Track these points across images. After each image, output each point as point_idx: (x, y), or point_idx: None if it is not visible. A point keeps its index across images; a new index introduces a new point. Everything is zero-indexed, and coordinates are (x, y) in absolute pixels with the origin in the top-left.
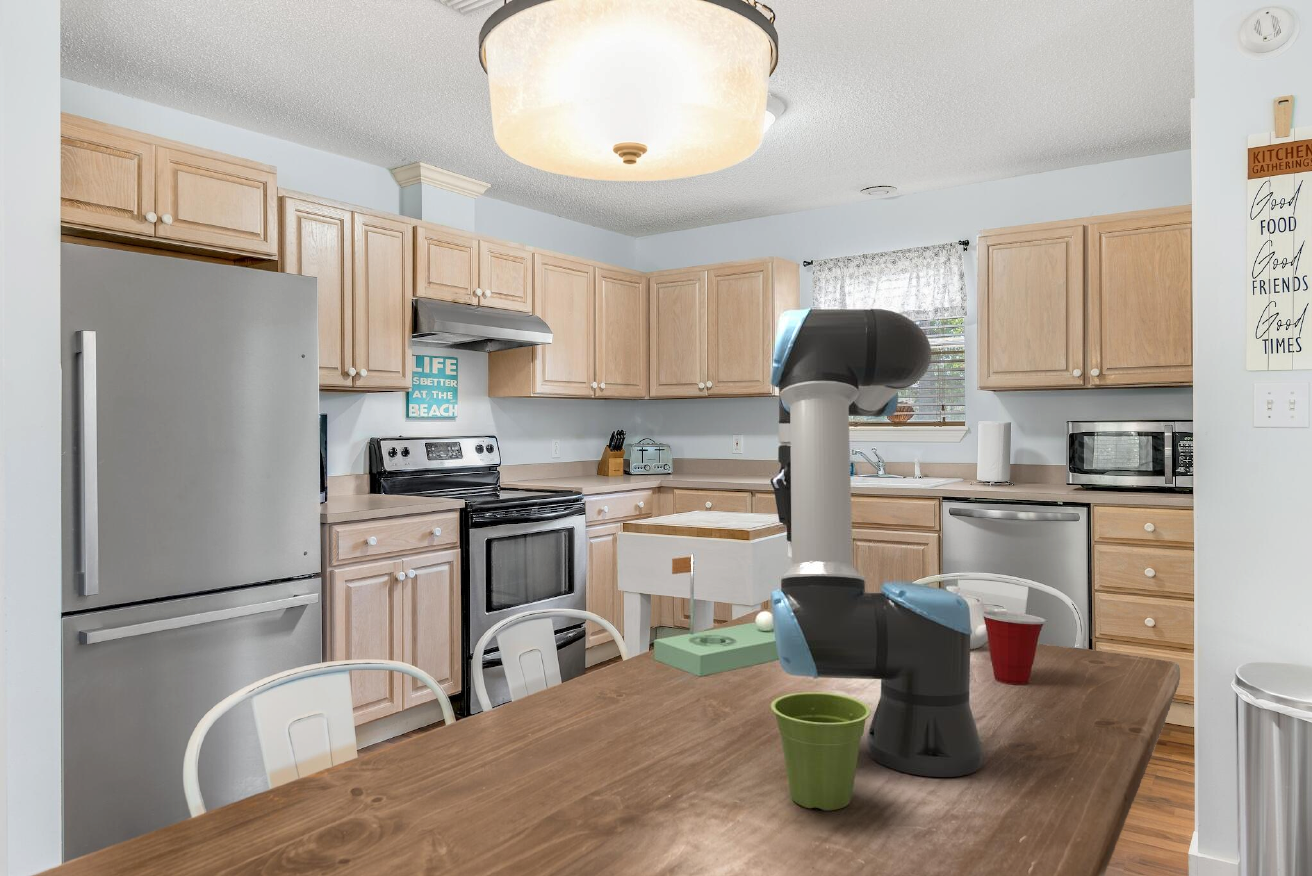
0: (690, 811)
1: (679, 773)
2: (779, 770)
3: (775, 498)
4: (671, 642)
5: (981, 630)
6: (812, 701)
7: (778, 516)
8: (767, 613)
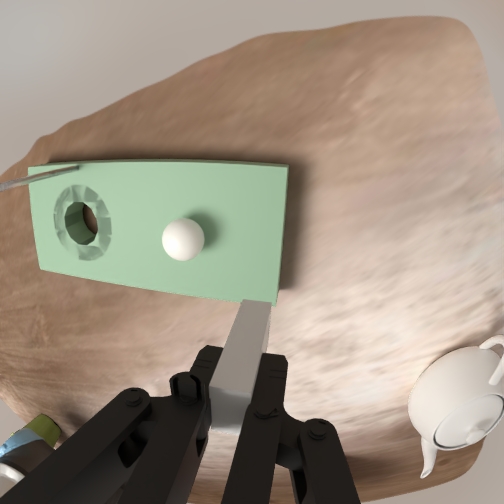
0: (5, 387)
1: (5, 367)
2: (44, 403)
3: (27, 475)
4: (36, 194)
5: (422, 439)
6: None
7: (104, 408)
8: (174, 254)
